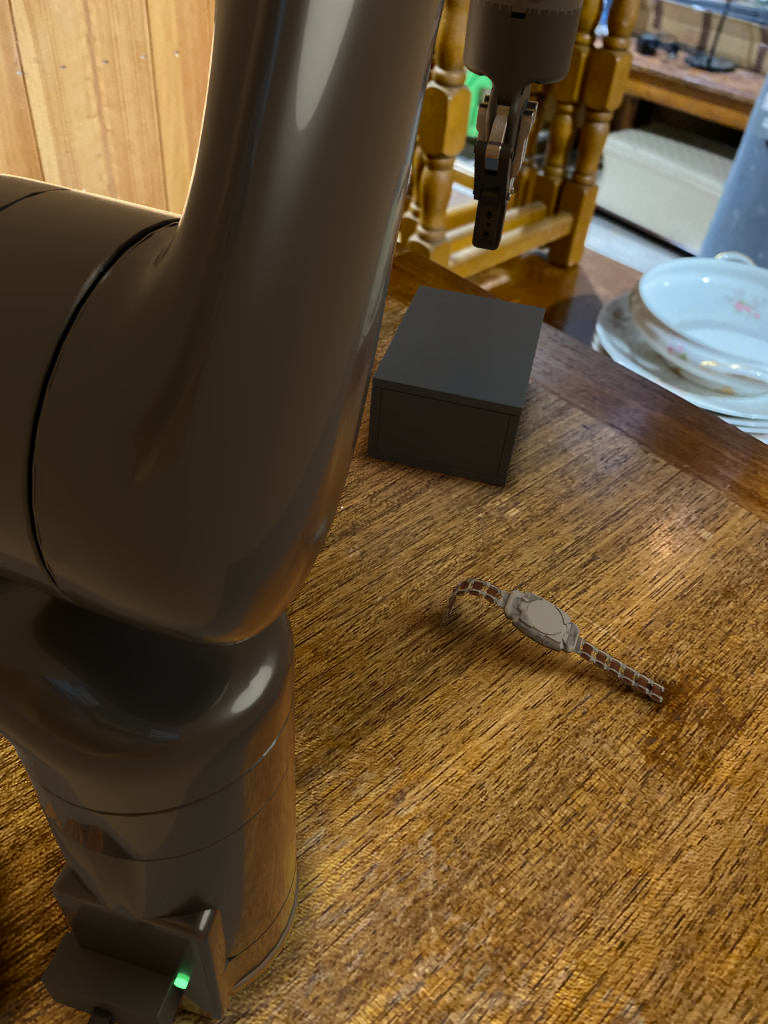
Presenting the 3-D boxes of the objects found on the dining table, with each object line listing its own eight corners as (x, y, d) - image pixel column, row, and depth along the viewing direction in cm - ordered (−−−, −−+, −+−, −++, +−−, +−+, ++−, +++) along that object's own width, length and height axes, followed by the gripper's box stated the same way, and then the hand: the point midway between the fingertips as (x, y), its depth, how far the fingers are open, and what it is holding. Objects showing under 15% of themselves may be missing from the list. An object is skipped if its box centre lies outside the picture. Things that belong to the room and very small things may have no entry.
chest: (409, 363, 76) (416, 299, 71) (527, 387, 74) (542, 322, 70) (366, 456, 65) (371, 386, 60) (504, 486, 63) (520, 417, 58)
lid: (418, 293, 72) (419, 284, 71) (543, 316, 70) (545, 308, 70) (371, 386, 60) (372, 377, 59) (520, 416, 58) (522, 407, 58)
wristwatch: (445, 595, 53) (475, 553, 50) (629, 705, 53) (673, 670, 49) (427, 633, 51) (458, 590, 47) (620, 748, 50) (666, 714, 47)
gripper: (487, -25, 58) (455, 210, 69) (454, 0, 48) (423, 270, 59) (589, -12, 56) (539, 225, 68) (576, 16, 47) (521, 287, 58)
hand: (485, 245), depth 64 cm, fingers closed
